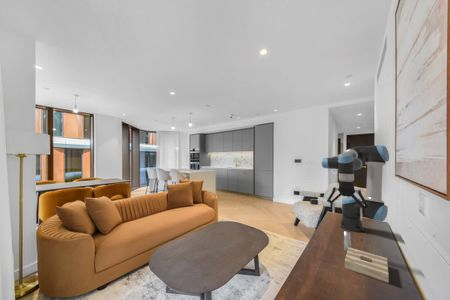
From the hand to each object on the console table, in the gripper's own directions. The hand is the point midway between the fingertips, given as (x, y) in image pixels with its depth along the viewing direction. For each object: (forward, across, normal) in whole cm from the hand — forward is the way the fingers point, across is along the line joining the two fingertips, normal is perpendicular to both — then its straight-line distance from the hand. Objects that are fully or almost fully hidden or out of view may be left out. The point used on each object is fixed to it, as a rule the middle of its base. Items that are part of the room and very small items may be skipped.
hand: (346, 216), depth 103 cm
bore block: (+20, +9, -12) cm, 25 cm away
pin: (+20, 0, 0) cm, 20 cm away
